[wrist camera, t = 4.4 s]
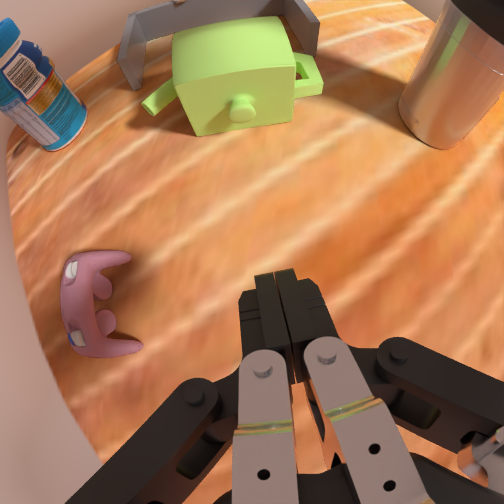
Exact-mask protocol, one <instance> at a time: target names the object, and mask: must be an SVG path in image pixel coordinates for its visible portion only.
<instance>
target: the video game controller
mask: <svg viewBox="0 0 504 504" xmlns="http://www.w3.org/2000/svg"><path fill="white" fill-rule="evenodd" d="M131 259H132V256H131V254H129V253H127V252H124V251H119V250H102V251H91V252H84V253H78V254H75V255H74V256H72V257H71V258H69V259H68V260H67V262H66V263H65V266H64V269H63V276H62V280H61V286H60V306H61V314H62V318H63V322H64V326H65V329H66V331H67V334H68V338H69V342H70V345H71V347H72V348H73V350H74V351H75V352H76V353H78V354H79V355H82V356H87V357H93V358H112V357H118V356H123V355H128V354H132V353H136V352H138V351H140V350H141V349H142V348H143V343H141V342H139V341H135V340H124V339H111V338H107V335H108V334H110V333H111V332H112V331H114V329H115V328H116V324H117V322H116V318H115V315H114V314H113V312H112V311H110V310H108V309H104V310H100V311H97V312H95V308H94V299H95V300H106V299H108V298H109V297H110V296H111V294H112V284H111V282H110V281H109V279H107V278H106V277H104V276H103V275H101V274H100V271H101V270H103V269H105V268H109V267H114V266H119V265H122V264H125V263H127V262H129V261H131Z"/></svg>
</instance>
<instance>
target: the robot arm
mask: <svg viewBox="0 0 504 504" xmlns="http://www.w3.org/2000/svg"><path fill="white" fill-rule="evenodd" d="M503 91H504V0H446V1H445V3H444V6H443V8H442V10H441V13H440V15H439V18H438V20H437V22H436V24H435V27H434V29H433V31H432V33H431V36H430V38H429V40H428V42H427V44H426V46H425V48H424V51H423V53H422V55H421V57H420V59H419V61H418V63H417V65H416V67H415V69H414V71H413V73H412V75H411V77H410V79H409V81H408V83H407V85H406V87H405V89H404V91H403V93H402V95H401V97H400V99H399V101H398V109H399V113H400V116H401V118H402V120H403V121H404V123H405V125H406V126H407V127H408V128H409V130H410V131H411V132H412V133H413V134H414V135H415V136H416V137H418V138H419V139H420V140H422V141H423V142H425V143H426V144H428V145H430V146H432V147H435V148H438V149H450V148H453V147H454V146H455V145H456V144H457V143H458V142H459V141H460V140H461V139H464V138H465V137H466V136H467V135H468V134H469V132H470V131H471V130H472V129H473V128H474V127H475V126H476V125H477V124H478V123H479V121H480V120H481V119H482V118H483V117H484V116H485V115H486V114H487V112H488V111H489V110H490V109H491V108H492V107H493V105H494V104H495V103H496V102H497V101H498V100H499V96H500V95H501V93H502V92H503ZM274 275H275V279H274ZM274 275H273V272H271V273H266V274H261V275H255V276H254V278H255V284H256V289H253V290H248V291H243V293H242V295H241V297H240V299H239V301H238V304H239V317H240V329H241V341H242V352H243V357H242V361H241V364H240V365H239V367H238V368H237V369H236V371H234V372H233V373H232V374H231V375H229V376H227V377H225V378H223V379H220V380H218V381H216V382H213V383H212V382H210V381H209V380H207V379H204V378H192V379H189V380H186V381H184V382H183V383H181V384H180V385H179V386H178V387H177V388H176V389H175V390H174V391H173V393H172V394H171V395H170V396H169V397H168V398H167V399H166V400H165V401H164V402H163V403H162V405H161V406H160V407H159V408H158V409H157V410H156V411H155V412H154V413H153V414H152V415H151V416H150V417H149V418H148V420H147V421H146V422H145V423H144V424H143V425H142V426H141V427H140V428H139V429H138V430H137V431H136V432H135V433H134V434H133V435H132V436H131V437H130V439H129V440H128V441H127V442H126V443H125V444H124V445H123V446H122V447H121V448H120V449H119V450H118V451H117V452H116V453H115V454H114V455H113V456H112V457H111V458H110V459H109V460H108V461H107V462H106V463H105V464H104V465H103V466H102V467H101V468H100V469H99V470H98V471H97V472H96V473H95V474H94V475H93V476H92V477H91V478H90V479H89V480H88V481H87V482H86V483H85V484H84V485H83V486H82V487H81V488H80V489H79V490H78V491H77V492H76V493H75V494H74V495H73V496H72V497H71V498H70V499H69V500H68V501H67V502H66V503H65V504H182V503H183V502H184V501H185V500H186V498H187V497H188V496H189V495H190V494H191V493H192V492H193V491H194V489H195V488H196V487H197V486H198V485H199V484H200V483H201V481H202V480H203V479H204V478H205V477H206V475H207V474H208V473H209V472H210V471H211V469H212V468H213V467H214V466H215V465H216V463H217V462H218V461H219V460H220V458H221V457H222V456H223V455H224V453H225V452H226V451H227V450H228V448H229V447H230V446H231V444H232V443H233V456H232V489H231V490H230V491H228V492H226V493H225V494H223V495H222V496H221V497H219V498H218V499H217V500H216V501H215V502H214V503H213V504H504V382H502V381H500V380H498V379H495V378H493V377H491V376H489V375H486V374H484V373H482V372H480V371H477V370H475V369H473V368H471V367H468V366H466V365H464V364H462V363H459V362H457V361H455V360H453V359H451V358H448V357H446V356H444V355H442V354H440V353H437V352H435V351H433V350H431V349H429V348H426V347H424V346H422V345H420V344H418V343H415V342H413V341H411V340H409V339H406V338H403V337H393V338H389V339H387V340H385V341H384V342H382V343H381V345H380V346H379V348H356V347H352V346H350V345H348V344H346V343H345V342H343V341H342V340H341V339H340V337H339V336H338V334H337V331H336V329H335V326H334V324H333V321H332V319H331V316H330V314H329V311H328V309H327V307H326V305H325V302H324V299H323V297H322V295H321V292H320V290H319V287H318V285H316V284H315V283H314V282H313V281H312V280H310V279H309V278H308V279H303V280H298V281H297V278H296V275H295V272H294V269H293V268H291V269H286V270H281V271H276V272H274ZM275 281H276V283H275ZM293 368H294V369H293ZM294 372H295V376H296V381H297V383H301V382H304V386H305V390H306V400H307V403H308V406H309V409H310V412H311V415H312V418H313V421H314V424H315V427H316V430H317V433H318V436H319V439H320V442H321V446H322V451H323V456H324V460H325V464H326V467H327V471H325V472H323V473H320V474H299V467H298V458H297V449H296V439H295V429H294V420H293V410H292V403H293V395H292V388H291V385H292V384H295V377H294ZM396 424H397V425H399V426H401V427H403V428H405V429H407V430H409V431H410V432H412V433H414V434H416V435H418V436H420V437H422V438H424V439H426V440H428V441H430V442H433V443H435V444H437V445H439V446H441V447H443V448H445V449H447V450H449V451H452V452H454V453H456V454H458V456H457V463H458V468H459V469H460V470H461V471H462V472H463V473H465V474H466V475H467V476H468V477H469V478H470V479H471V480H469V479H467V478H465V477H463V476H461V475H459V474H457V473H455V472H453V471H451V470H449V469H447V468H445V467H443V466H441V465H439V464H437V463H435V462H433V461H431V460H429V459H428V458H426V457H424V456H421V455H419V454H416V453H412V452H408V449H407V447H406V445H405V443H404V441H403V439H402V437H401V434H400V432H399V430H398V428H397V426H396Z"/></svg>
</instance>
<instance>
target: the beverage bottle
mask: <svg viewBox="0 0 504 504" xmlns="http://www.w3.org/2000/svg"><path fill="white" fill-rule="evenodd" d="M20 37H21V34H20V30H19V29H18V28H17V26H16V25H15V23H14V22H13V21H12V20H11V19H10V18H6V19H4V20H2V21H1V22H0V110H1V112H2V113H3V114H4V115H6V116H9V117H10V118H11V119H12V120H13V121H14V122H15V123H16V124H18V125H19V126H20V127H21V128H22V129H23V130H25V131H26V132H27V133H28V134H29V135H30V136H32V137H33V138H34V139H35V140H36V141H37V142H38V143H40V144H41V145H42V146H43V147H44V148H45V149H46V150H48V151H57V150H60V149H62V148H64V147H65V146H67V145H68V144H70V143H71V142H72V141H73V140H74V139H75V138H76V137H77V136H78V134H79V133H80V132H81V130H82V129H83V127H84V125H85V123H86V120H87V114H88V112H87V108H86V106H85V105H84V103H83V102H82V101H81V100H80V99H79V98H78V97H77V96H76V95H75V94H74V92H73V91H72V90H71V88H70V87H69V86H68V85H67V83H66V82H65V81H64V79H63V78H62V77H61V75H60V74H59V73H58V72H57V70H56V69H55V65H54V63H53V62H52V60H51V59H50V58H49V57H46V56H43V55H42V49H41V47H39V46H38V45H37V44H34V43H32V42H29V41H24V40H19V39H20Z"/></svg>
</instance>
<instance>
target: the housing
mask: <svg viewBox="0 0 504 504" xmlns="http://www.w3.org/2000/svg"><path fill="white" fill-rule="evenodd" d="M279 15H284V17H285V19H286V20H287V22H288V24H289V25H290V27H291V29H292V31H293V32H294V34H295V36H296V38H297V39H298V41H299V43H300V45H301V47H302V48H303V50H304V52H305V54H306V55H311V56H316V50H317V42H318V35H319V27H320V22H319V20H318V19H317V18H316V16H315V15H314V14H313V12H312V11H311V10H310V8H309V7H308V6H307V4H306V3H305V2H304V1H303V0H172V1H169V2H165V3H162V4H158V5H155V6H152V7H149V8H146V9H143V10H140V11H137V12H134V13H131V14H129V16H128V19H127V22H126V26H125V30H124V33H123V37H122V41H121V45H120V49H119V53H118V57H117V63H118V64H119V66H120V68H121V70H122V71H123V73H124V75H125V77H126V79H127V80H128V82H129V84H130V86H131V87H132V89H133V91H135V90H138V89H141V88H142V80H143V69H144V59H145V51H146V43H147V41H149V40H152V39H156V38H159V37H162V36H166V35H169V34H173V33H177V32H180V31H184V30H187V29H191V28H195V27H199V26H203V25H208V24H212V23H217V22H223V21H229V20H236V19H244V18H254V17H267V16H279Z"/></svg>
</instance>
